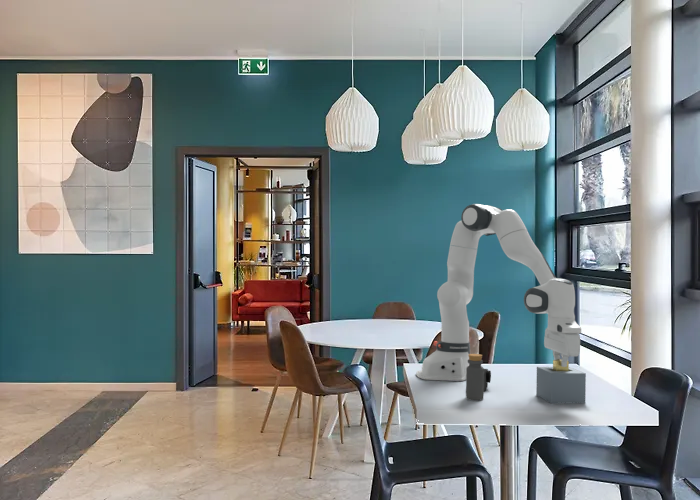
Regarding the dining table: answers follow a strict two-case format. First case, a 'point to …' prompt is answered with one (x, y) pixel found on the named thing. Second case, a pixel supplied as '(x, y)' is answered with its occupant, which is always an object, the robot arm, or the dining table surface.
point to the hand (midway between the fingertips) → (560, 365)
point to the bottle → (474, 378)
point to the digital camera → (486, 378)
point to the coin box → (561, 385)
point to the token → (557, 366)
